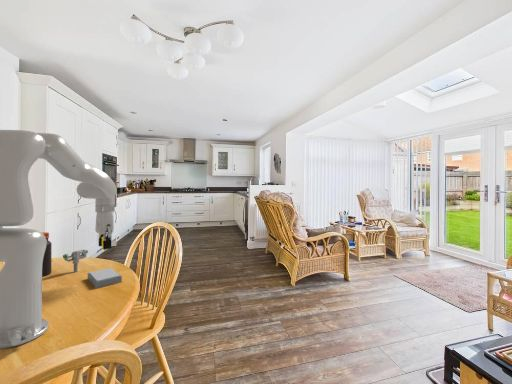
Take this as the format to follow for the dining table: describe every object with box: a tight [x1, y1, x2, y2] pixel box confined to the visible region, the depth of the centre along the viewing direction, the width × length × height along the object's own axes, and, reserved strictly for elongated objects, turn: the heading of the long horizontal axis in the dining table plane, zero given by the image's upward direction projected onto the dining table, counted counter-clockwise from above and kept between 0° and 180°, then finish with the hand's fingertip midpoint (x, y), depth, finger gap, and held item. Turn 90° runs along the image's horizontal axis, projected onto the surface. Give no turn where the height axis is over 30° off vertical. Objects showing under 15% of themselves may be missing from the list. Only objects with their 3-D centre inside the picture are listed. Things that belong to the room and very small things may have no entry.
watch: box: [101, 237, 109, 251], centre depth 109 cm, size 6×3×6 cm, turn 45°
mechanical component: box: [62, 249, 89, 273], centre depth 119 cm, size 3×10×10 cm, turn 152°
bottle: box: [42, 231, 52, 277], centre depth 114 cm, size 7×7×20 cm
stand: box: [87, 267, 123, 289], centre depth 110 cm, size 14×10×3 cm
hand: (104, 246), depth 109 cm, fingers closed on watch, 6 cm apart
